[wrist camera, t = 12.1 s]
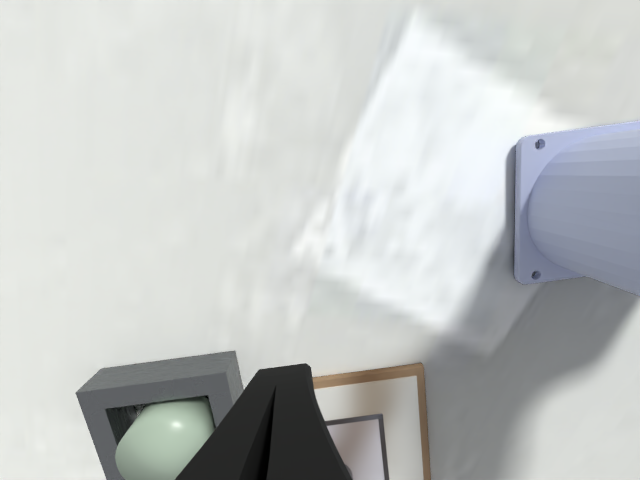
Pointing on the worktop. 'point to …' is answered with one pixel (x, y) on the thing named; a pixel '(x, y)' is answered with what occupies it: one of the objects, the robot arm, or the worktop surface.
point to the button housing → (153, 395)
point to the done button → (164, 438)
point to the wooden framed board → (378, 421)
